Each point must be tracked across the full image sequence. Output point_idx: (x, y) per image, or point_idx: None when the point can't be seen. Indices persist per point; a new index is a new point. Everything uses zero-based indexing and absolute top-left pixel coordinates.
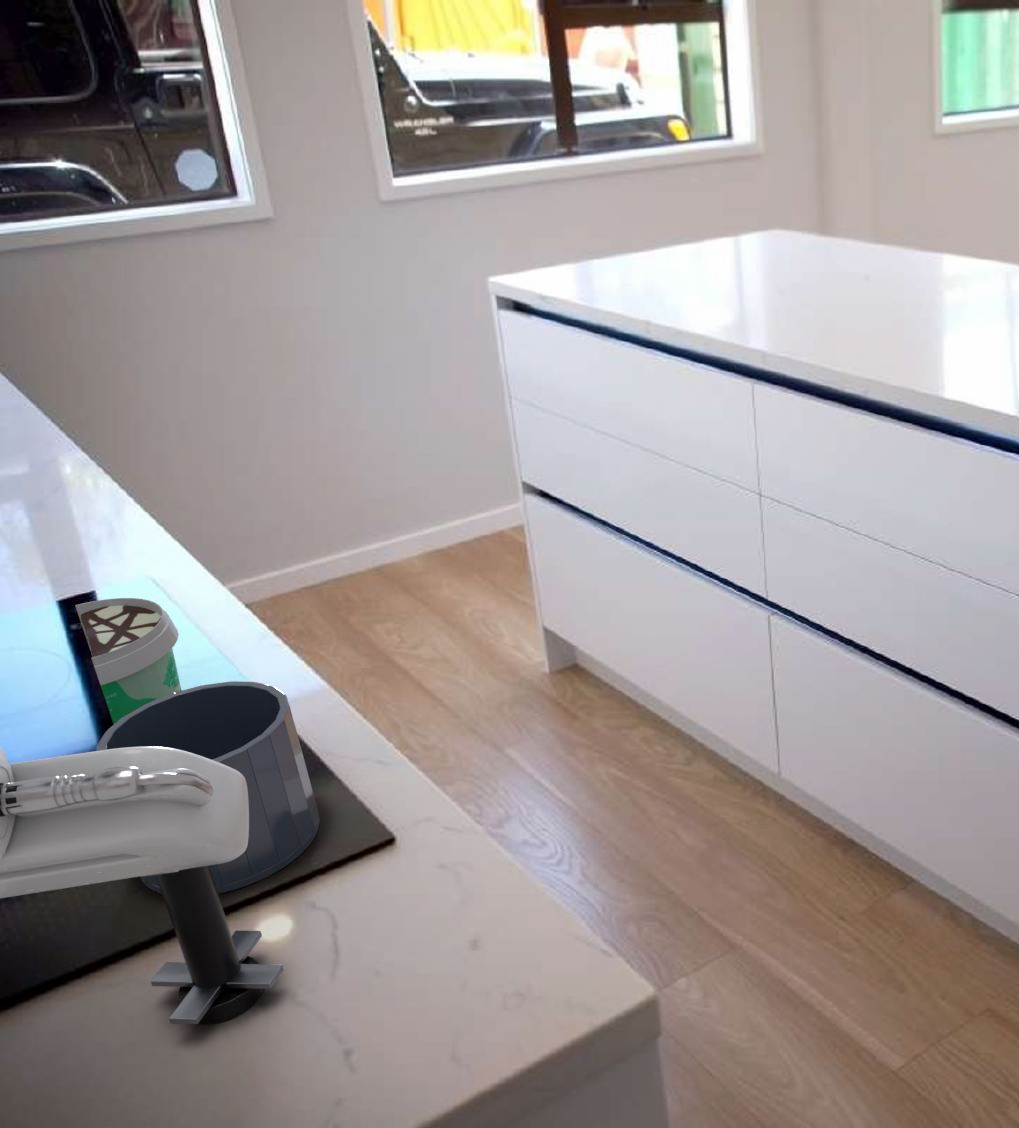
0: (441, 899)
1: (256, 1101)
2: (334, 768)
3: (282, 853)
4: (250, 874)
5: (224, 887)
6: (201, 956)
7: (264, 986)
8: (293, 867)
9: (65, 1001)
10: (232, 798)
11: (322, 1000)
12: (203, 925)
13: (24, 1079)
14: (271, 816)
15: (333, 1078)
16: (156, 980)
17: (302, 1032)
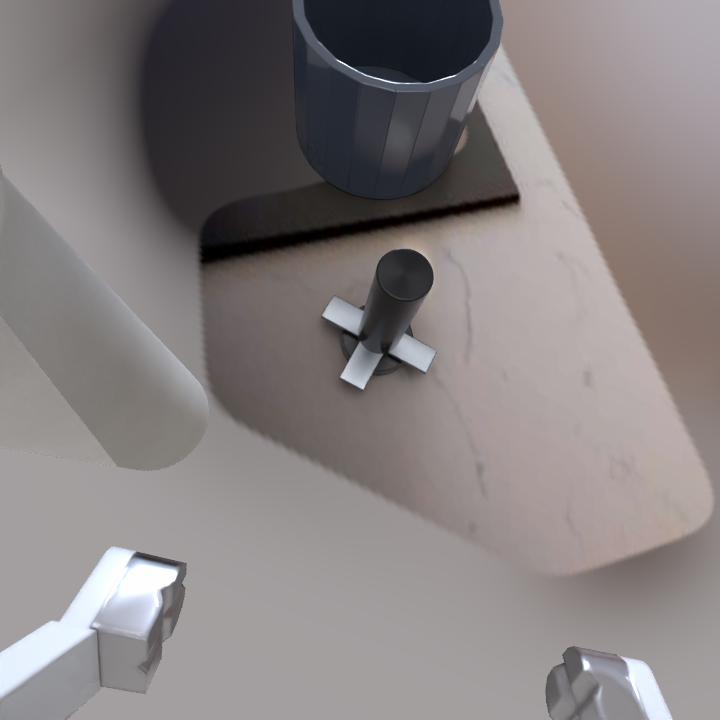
0: (559, 302)
1: (404, 492)
2: None
3: (428, 179)
4: (398, 192)
5: (374, 195)
6: (381, 341)
7: (420, 371)
8: (430, 192)
9: (241, 280)
10: None
11: (457, 388)
12: (398, 329)
13: (212, 367)
14: (439, 150)
15: (467, 495)
16: (326, 317)
17: (441, 422)
